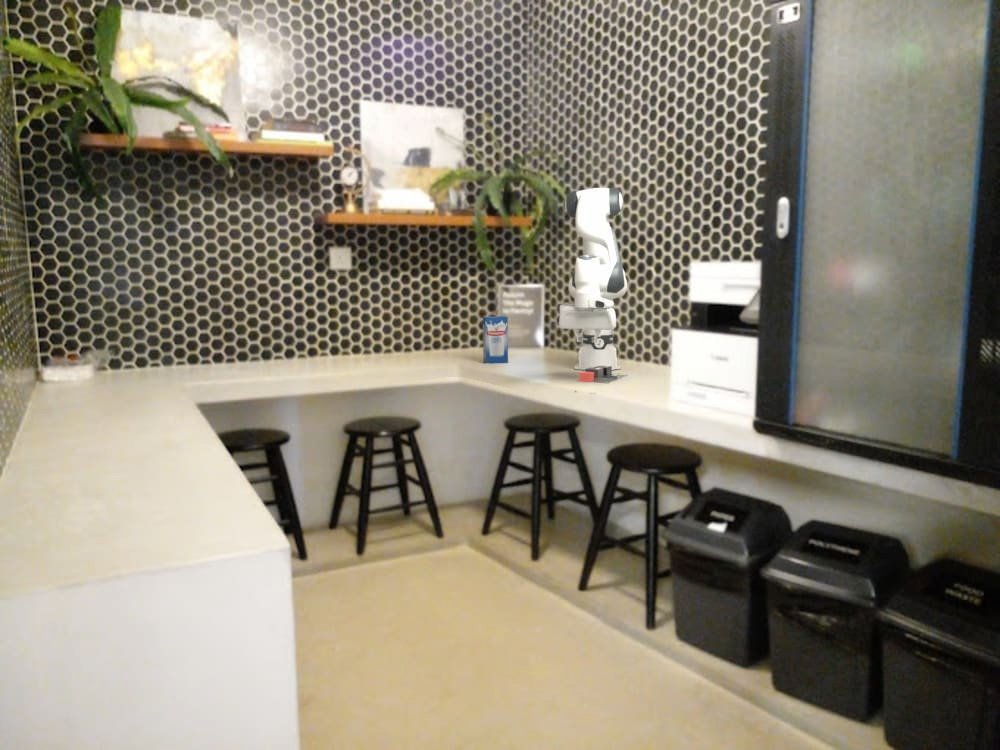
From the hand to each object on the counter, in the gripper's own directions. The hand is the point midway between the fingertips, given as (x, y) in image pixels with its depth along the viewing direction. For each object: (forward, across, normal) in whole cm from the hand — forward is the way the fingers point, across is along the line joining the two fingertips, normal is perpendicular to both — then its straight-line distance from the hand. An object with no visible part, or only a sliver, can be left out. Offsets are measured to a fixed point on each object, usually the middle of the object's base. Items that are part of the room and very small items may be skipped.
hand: (587, 342), depth 261 cm
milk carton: (+15, -61, +44) cm, 76 cm away
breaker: (+13, 0, +6) cm, 15 cm away
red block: (+14, 0, 0) cm, 14 cm away
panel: (+15, +2, +9) cm, 18 cm away
